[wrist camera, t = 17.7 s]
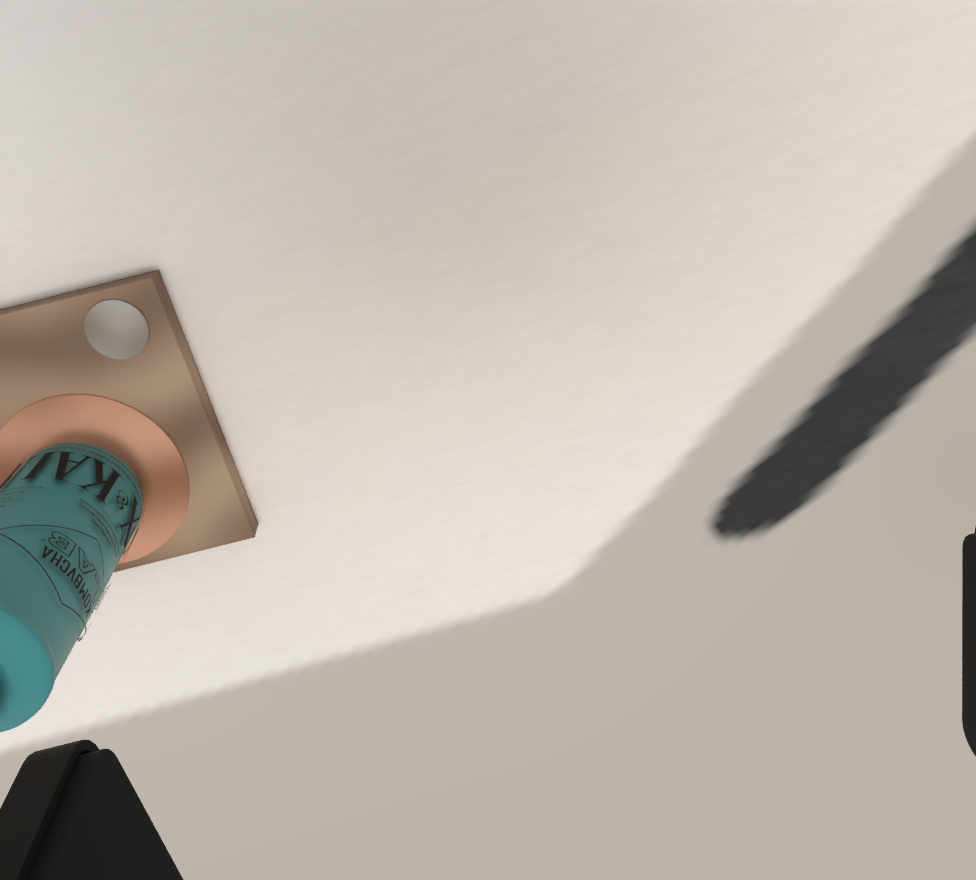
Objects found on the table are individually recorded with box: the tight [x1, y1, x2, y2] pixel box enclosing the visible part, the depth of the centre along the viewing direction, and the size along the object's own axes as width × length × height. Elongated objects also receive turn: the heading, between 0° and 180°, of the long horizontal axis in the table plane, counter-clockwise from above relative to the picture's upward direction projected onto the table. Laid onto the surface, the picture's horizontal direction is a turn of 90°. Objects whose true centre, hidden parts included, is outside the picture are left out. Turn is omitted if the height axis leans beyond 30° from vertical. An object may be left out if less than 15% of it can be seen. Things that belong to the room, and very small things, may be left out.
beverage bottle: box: [0, 442, 144, 732], centre depth 38 cm, size 6×7×20 cm
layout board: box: [0, 270, 258, 572], centre depth 48 cm, size 15×14×2 cm
